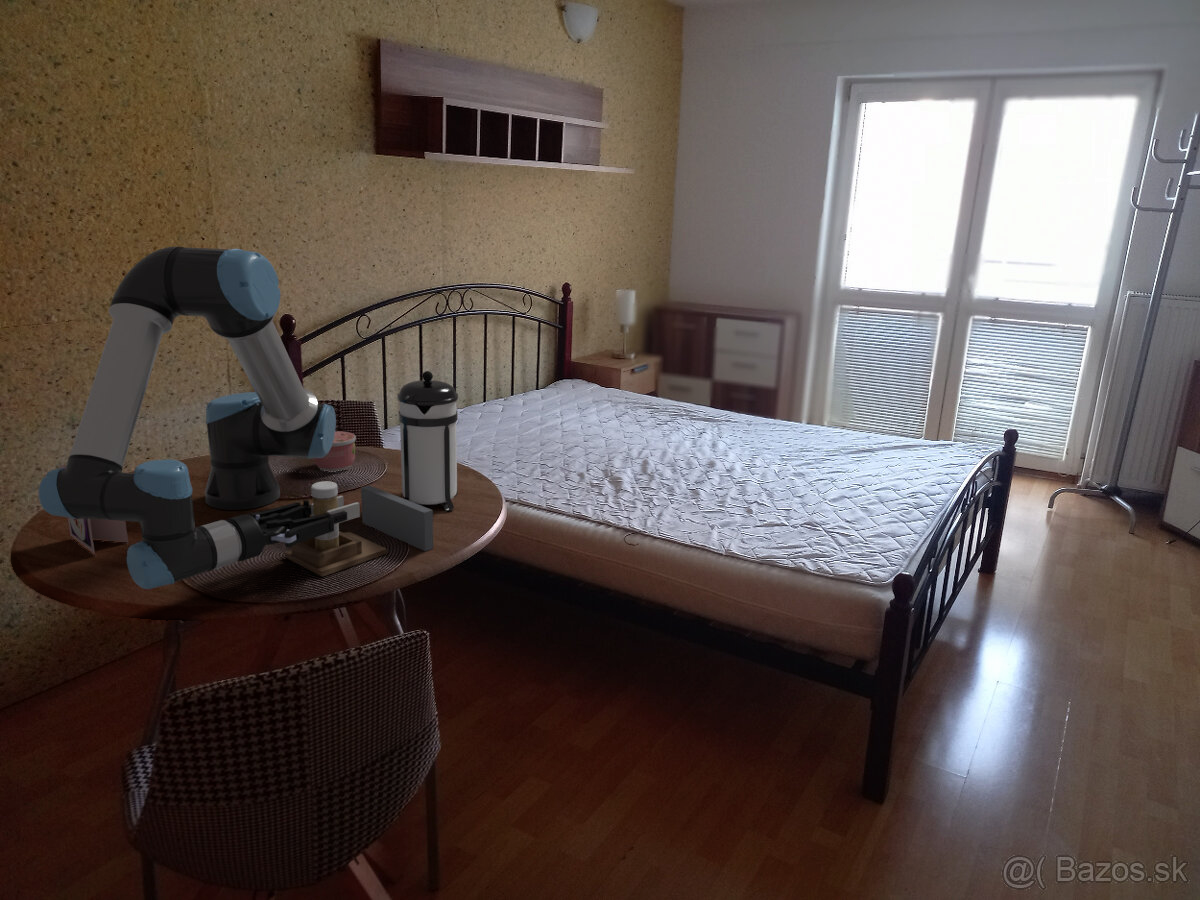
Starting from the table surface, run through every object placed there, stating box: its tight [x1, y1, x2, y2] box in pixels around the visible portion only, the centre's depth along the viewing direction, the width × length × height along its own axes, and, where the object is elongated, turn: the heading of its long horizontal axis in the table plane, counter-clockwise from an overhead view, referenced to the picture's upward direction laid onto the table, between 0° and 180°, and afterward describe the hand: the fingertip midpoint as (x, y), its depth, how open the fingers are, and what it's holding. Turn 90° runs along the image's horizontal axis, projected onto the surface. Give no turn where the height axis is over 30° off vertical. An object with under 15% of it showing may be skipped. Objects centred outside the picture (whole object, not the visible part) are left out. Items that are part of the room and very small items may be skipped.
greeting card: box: [59, 464, 129, 555], centre depth 155 cm, size 11×7×15 cm, turn 51°
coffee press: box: [397, 370, 459, 512], centre depth 182 cm, size 17×16×30 cm
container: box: [313, 430, 357, 471], centre depth 204 cm, size 10×10×8 cm
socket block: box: [284, 530, 388, 577], centre depth 156 cm, size 14×12×4 cm
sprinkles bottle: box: [310, 480, 340, 552], centre depth 152 cm, size 5×5×14 cm
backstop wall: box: [360, 484, 434, 552], centre depth 165 cm, size 2×20×8 cm, turn 51°
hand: (350, 506), depth 156 cm, fingers closed on sprinkles bottle, 4 cm apart
